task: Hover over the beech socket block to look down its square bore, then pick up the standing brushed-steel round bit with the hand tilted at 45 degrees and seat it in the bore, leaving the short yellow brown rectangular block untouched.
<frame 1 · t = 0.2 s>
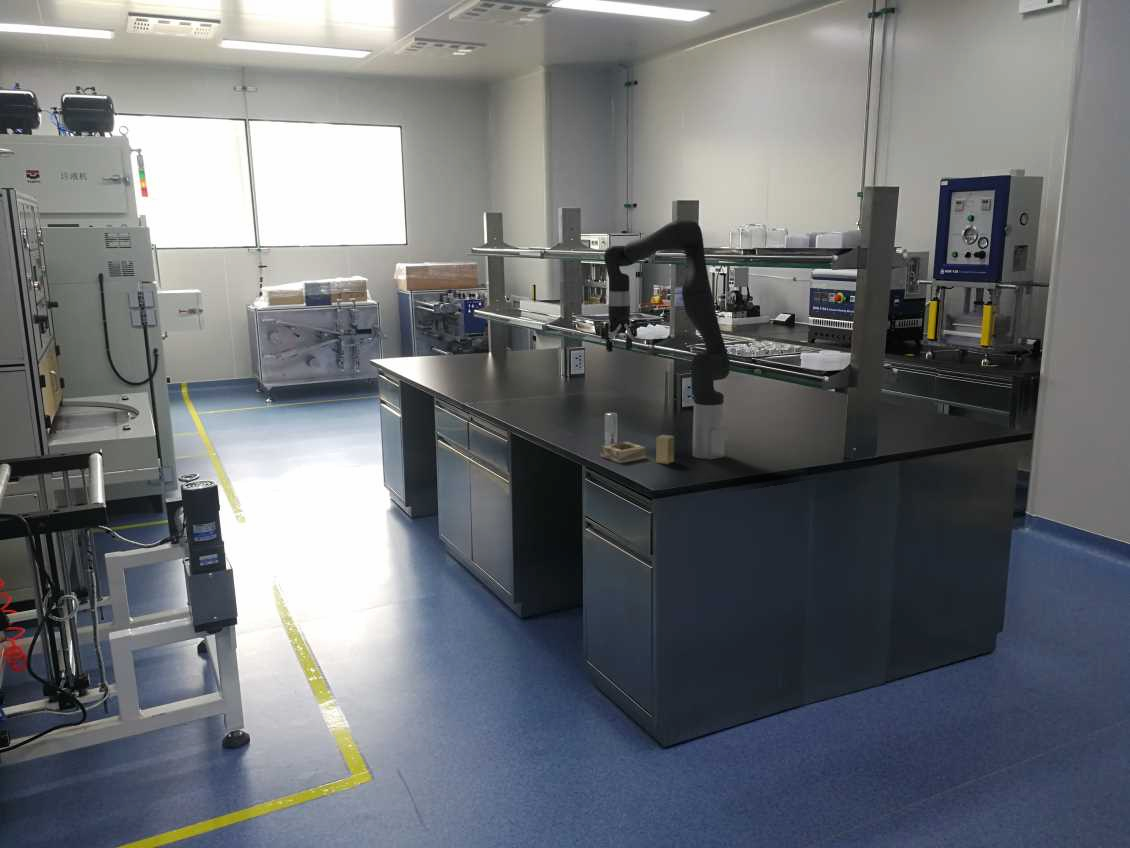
hand: (619, 350, 299), 29 cm above the countertop, tool pointing down, fingers open, 8 cm apart
yellow brown rectangular block: (665, 461, 263), on the countertop
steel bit: (611, 449, 278), on the countertop
socket block: (622, 457, 269), on the countertop
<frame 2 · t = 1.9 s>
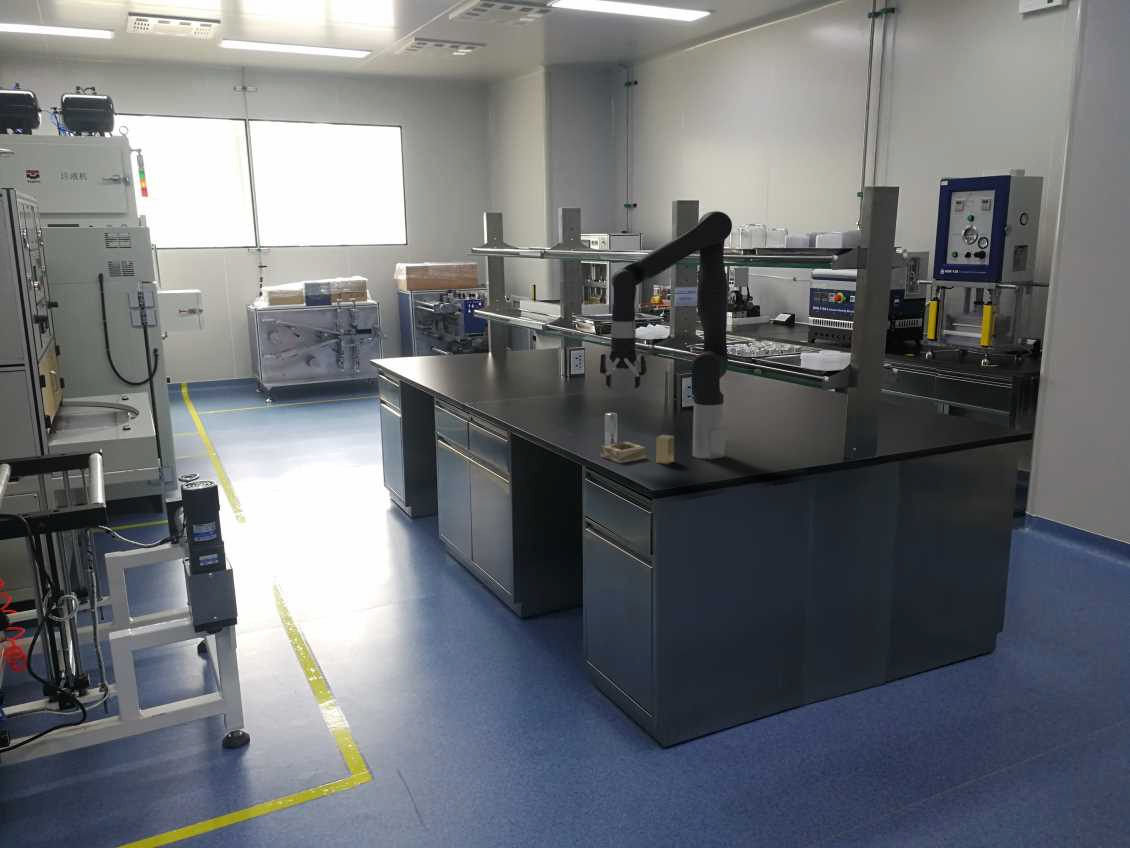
hand: (623, 387, 265), 22 cm above the countertop, tool pointing down, fingers open, 8 cm apart
nothing on the countertop moved.
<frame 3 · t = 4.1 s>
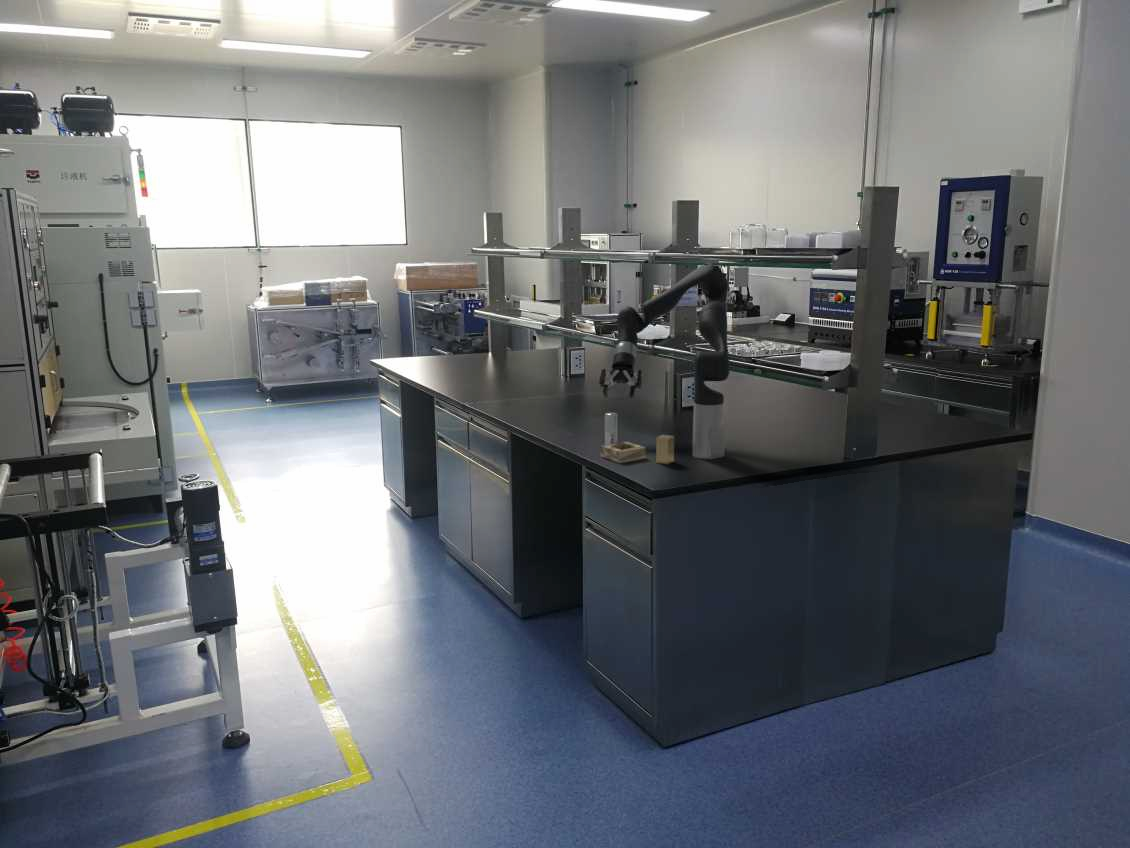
hand: (618, 396, 286), 16 cm above the countertop, tool tilted 45°, fingers open, 8 cm apart
nothing on the countertop moved.
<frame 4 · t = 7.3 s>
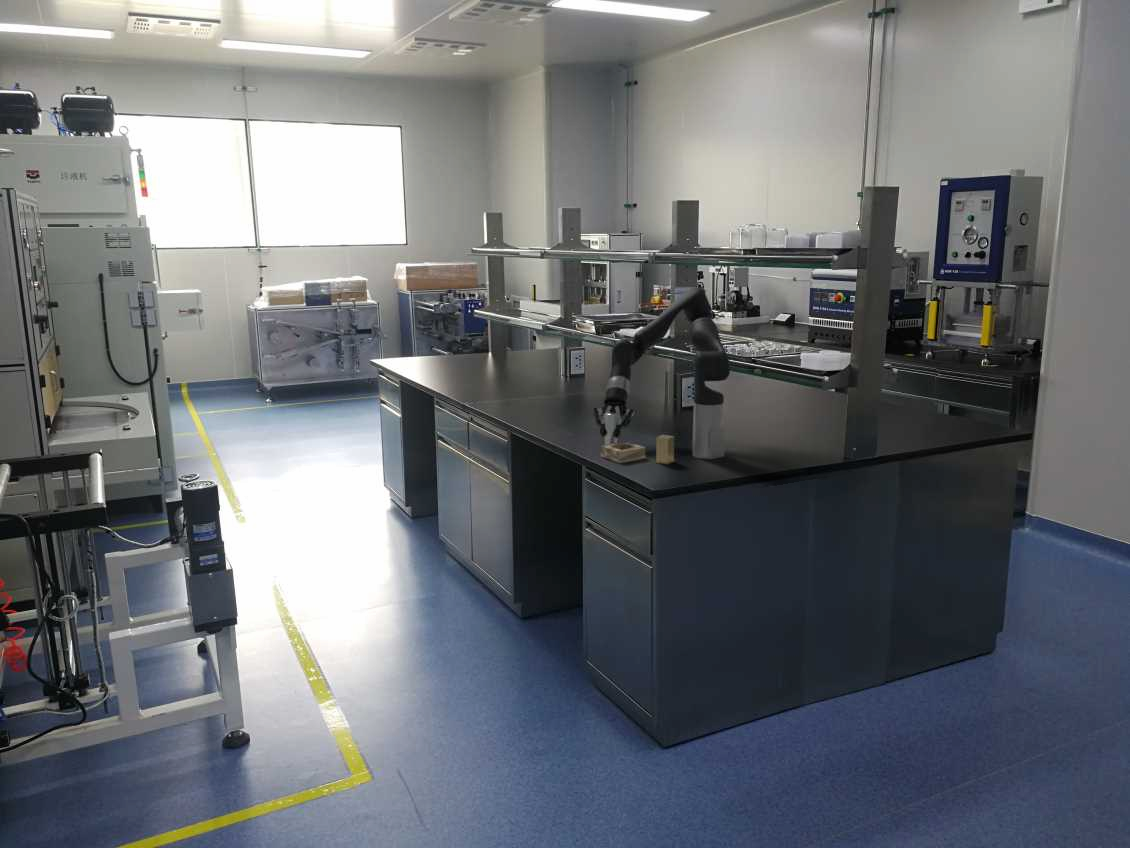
hand: (609, 436, 276), 5 cm above the countertop, tool tilted 45°, fingers closed on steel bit, 4 cm apart
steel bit: (610, 449, 278), on the countertop, touching gripper
everything else where it was.
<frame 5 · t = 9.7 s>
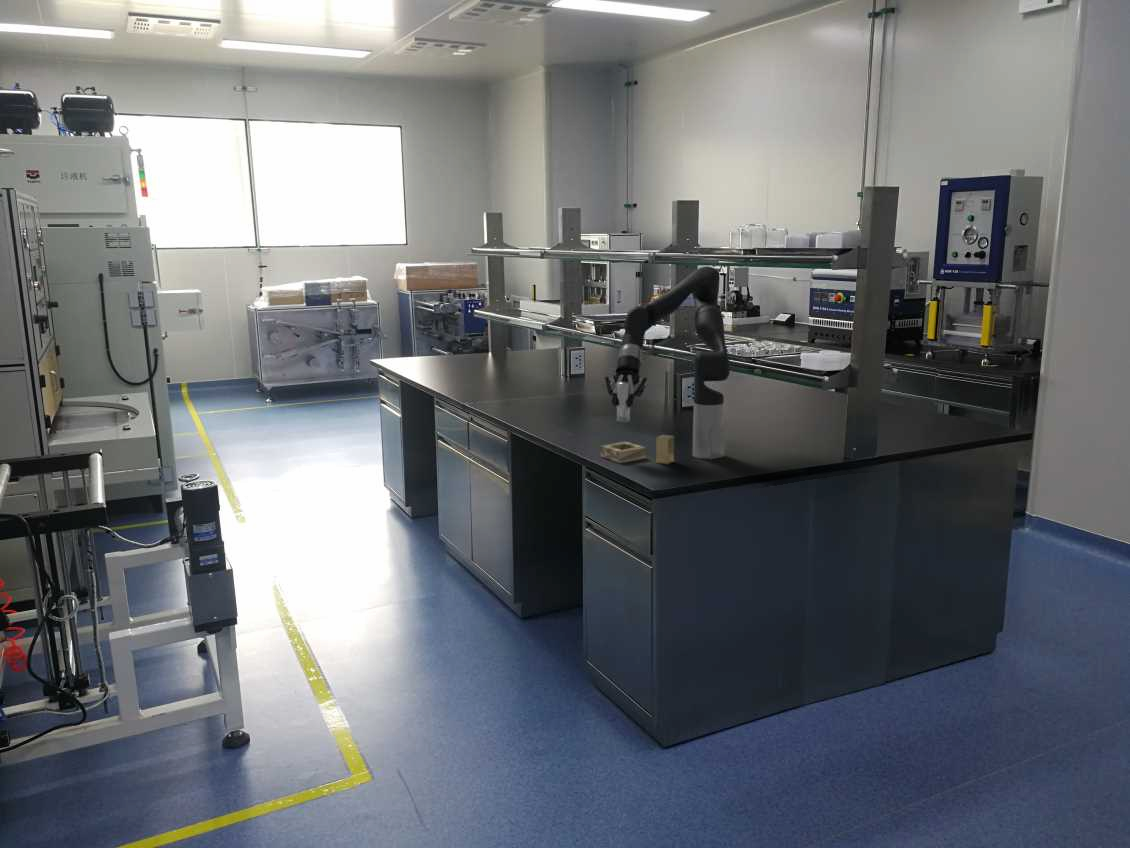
hand: (621, 405, 263), 17 cm above the countertop, tool tilted 45°, fingers closed on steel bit, 4 cm apart
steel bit: (623, 420, 266), point 12 cm above the countertop, touching gripper
everything else where it was.
when the fingers open (8 cm above the countertop, at t = 12.2 s): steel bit drops 2 cm, resting on socket block.
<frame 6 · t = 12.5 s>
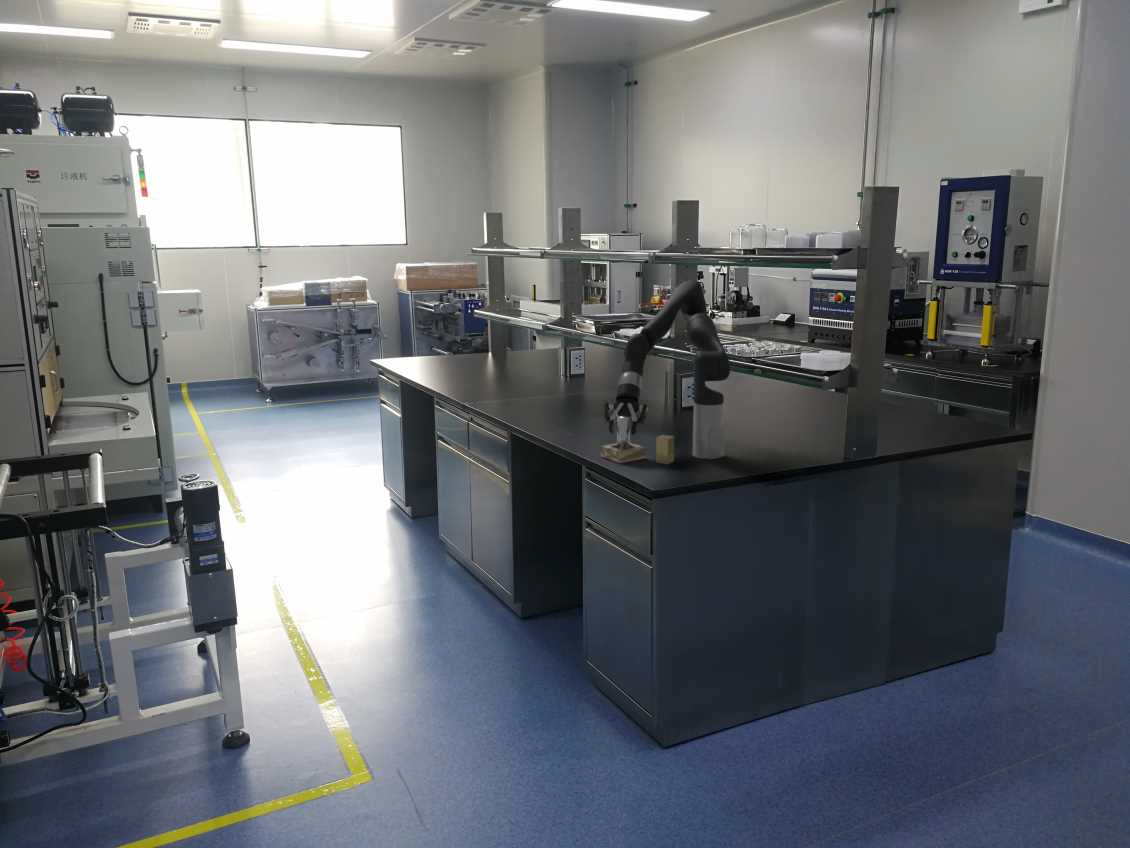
hand: (622, 433, 265), 8 cm above the countertop, tool tilted 45°, fingers open, 6 cm apart
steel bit: (623, 453, 269), point 1 cm above the countertop, touching socket block
everything else where it was.
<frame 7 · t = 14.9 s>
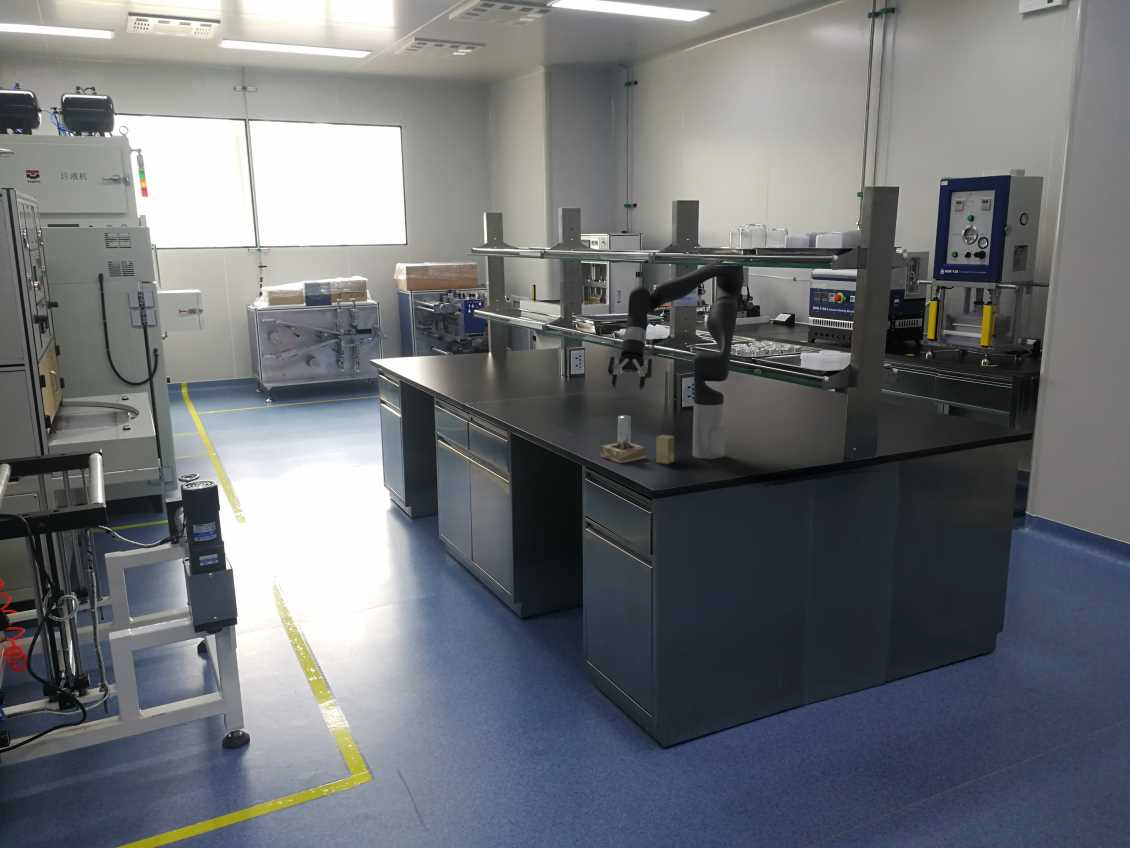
hand: (627, 387, 277), 20 cm above the countertop, tool tilted 35°, fingers open, 8 cm apart
nothing on the countertop moved.
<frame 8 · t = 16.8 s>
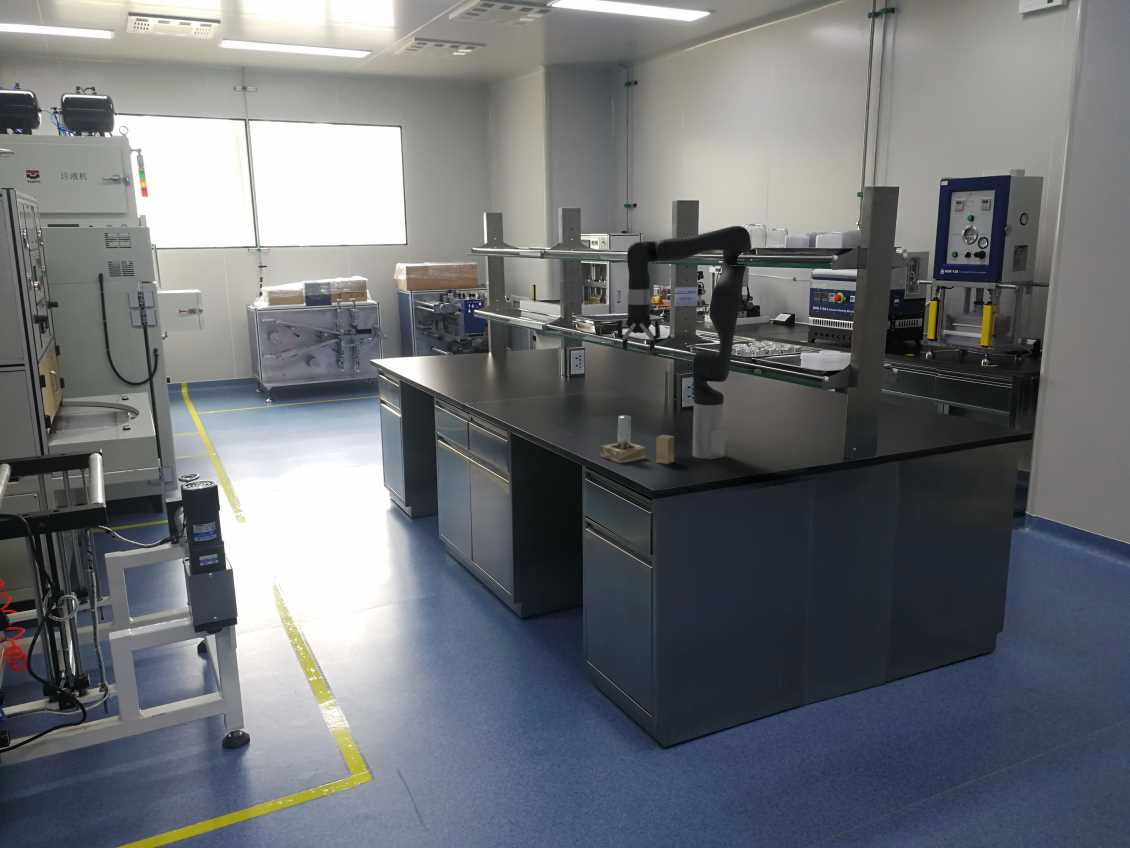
hand: (638, 350, 288), 30 cm above the countertop, tool pointing down, fingers open, 8 cm apart
nothing on the countertop moved.
at the end: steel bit 0.1 cm off-centre on the socket block, point 1.1 cm above the socket block's base; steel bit tilted 1°; the gripper is holding nothing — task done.
